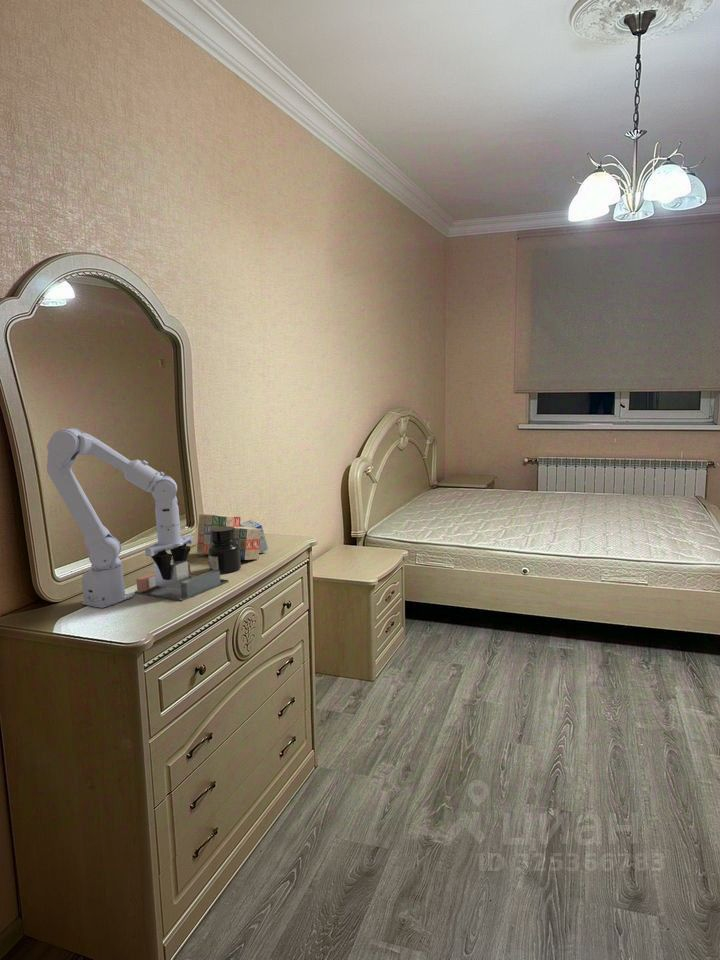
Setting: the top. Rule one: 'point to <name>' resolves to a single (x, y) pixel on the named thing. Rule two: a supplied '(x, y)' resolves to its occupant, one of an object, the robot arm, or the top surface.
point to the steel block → (173, 574)
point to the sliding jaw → (149, 581)
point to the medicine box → (263, 540)
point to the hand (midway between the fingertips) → (173, 576)
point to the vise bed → (171, 591)
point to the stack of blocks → (243, 535)
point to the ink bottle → (224, 550)
